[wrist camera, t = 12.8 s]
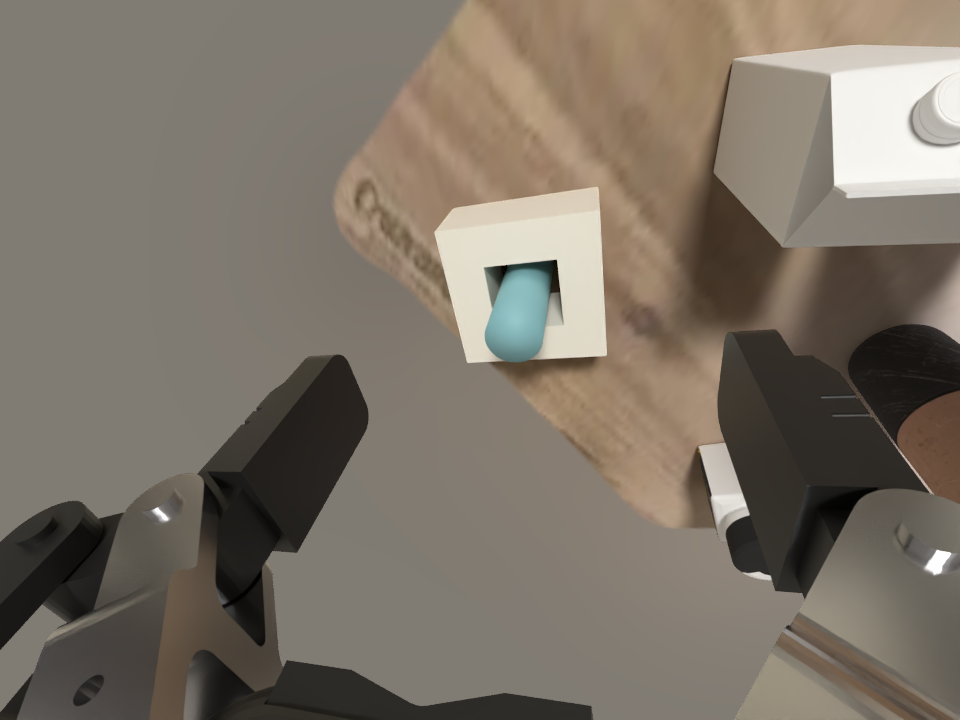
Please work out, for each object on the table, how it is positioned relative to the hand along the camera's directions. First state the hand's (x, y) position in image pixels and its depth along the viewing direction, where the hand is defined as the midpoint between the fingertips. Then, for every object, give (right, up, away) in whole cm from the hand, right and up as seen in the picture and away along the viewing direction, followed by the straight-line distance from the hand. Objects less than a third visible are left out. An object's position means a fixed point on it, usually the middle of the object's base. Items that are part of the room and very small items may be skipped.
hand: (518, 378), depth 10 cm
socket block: (+4, +9, +30) cm, 32 cm away
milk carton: (+19, +17, +21) cm, 33 cm away
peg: (+4, +9, +31) cm, 32 cm away
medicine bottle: (+27, -11, +39) cm, 49 cm away
